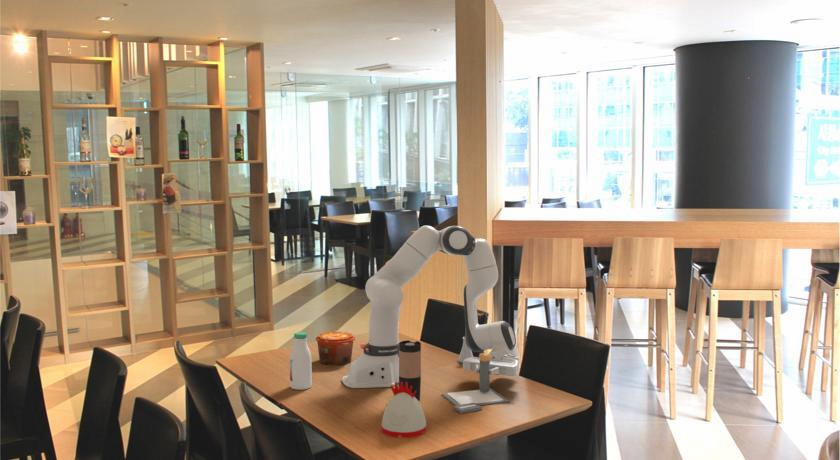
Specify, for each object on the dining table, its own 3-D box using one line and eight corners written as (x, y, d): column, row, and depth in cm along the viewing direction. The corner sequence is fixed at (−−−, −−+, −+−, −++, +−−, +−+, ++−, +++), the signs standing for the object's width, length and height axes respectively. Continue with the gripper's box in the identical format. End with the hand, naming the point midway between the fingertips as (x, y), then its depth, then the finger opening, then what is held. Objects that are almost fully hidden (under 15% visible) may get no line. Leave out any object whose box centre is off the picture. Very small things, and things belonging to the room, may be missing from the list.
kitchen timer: (390, 420, 245) (390, 374, 243) (431, 424, 241) (431, 377, 240) (375, 435, 232) (375, 386, 230) (418, 440, 228) (418, 390, 226)
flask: (473, 364, 311) (474, 340, 310) (456, 363, 313) (456, 339, 312) (476, 359, 318) (476, 336, 317) (458, 358, 320) (459, 335, 319)
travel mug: (404, 404, 260) (404, 346, 258) (394, 398, 267) (395, 341, 265) (424, 401, 264) (425, 344, 262) (414, 394, 270) (414, 339, 268)
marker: (481, 392, 269) (482, 356, 267) (477, 389, 272) (477, 353, 271) (491, 391, 270) (492, 355, 269) (487, 388, 273) (487, 352, 272)
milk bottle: (315, 385, 281) (315, 332, 279) (304, 391, 274) (303, 336, 272) (298, 382, 284) (297, 329, 282) (286, 388, 277) (285, 334, 275)
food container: (334, 354, 326) (333, 329, 325) (362, 360, 316) (362, 334, 315) (307, 362, 313) (307, 336, 312) (336, 368, 303) (336, 342, 302)
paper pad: (457, 407, 257) (457, 405, 257) (441, 394, 271) (441, 392, 271) (509, 402, 263) (509, 400, 263) (490, 389, 277) (490, 387, 277)
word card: (461, 413, 251) (461, 410, 251) (453, 409, 255) (453, 405, 255) (481, 409, 255) (481, 406, 255) (473, 405, 259) (473, 402, 259)
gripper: (470, 350, 286) (456, 359, 274) (523, 357, 278) (511, 366, 265) (470, 367, 287) (456, 376, 274) (522, 374, 278) (510, 384, 266)
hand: (483, 371), depth 270 cm, fingers closed on marker, 4 cm apart
